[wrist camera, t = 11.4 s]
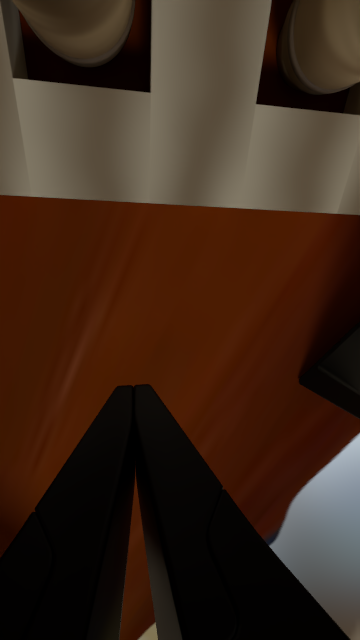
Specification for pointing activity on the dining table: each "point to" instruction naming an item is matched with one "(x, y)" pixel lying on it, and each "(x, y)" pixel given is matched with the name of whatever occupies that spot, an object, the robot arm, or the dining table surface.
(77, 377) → the dining table surface
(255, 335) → the dining table surface
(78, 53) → the seated peg
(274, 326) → the dining table surface
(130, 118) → the birch board
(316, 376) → the phone stand
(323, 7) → the oak peg
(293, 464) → the dining table surface
